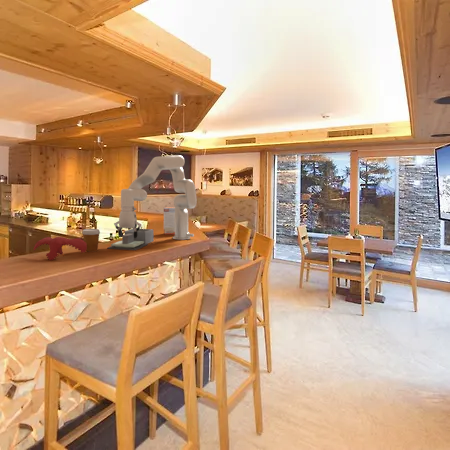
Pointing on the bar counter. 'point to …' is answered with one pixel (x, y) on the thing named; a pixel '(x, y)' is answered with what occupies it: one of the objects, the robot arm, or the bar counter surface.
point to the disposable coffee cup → (91, 239)
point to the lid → (127, 242)
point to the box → (142, 235)
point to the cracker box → (169, 220)
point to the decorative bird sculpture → (60, 245)
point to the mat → (128, 248)
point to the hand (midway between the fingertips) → (127, 237)
